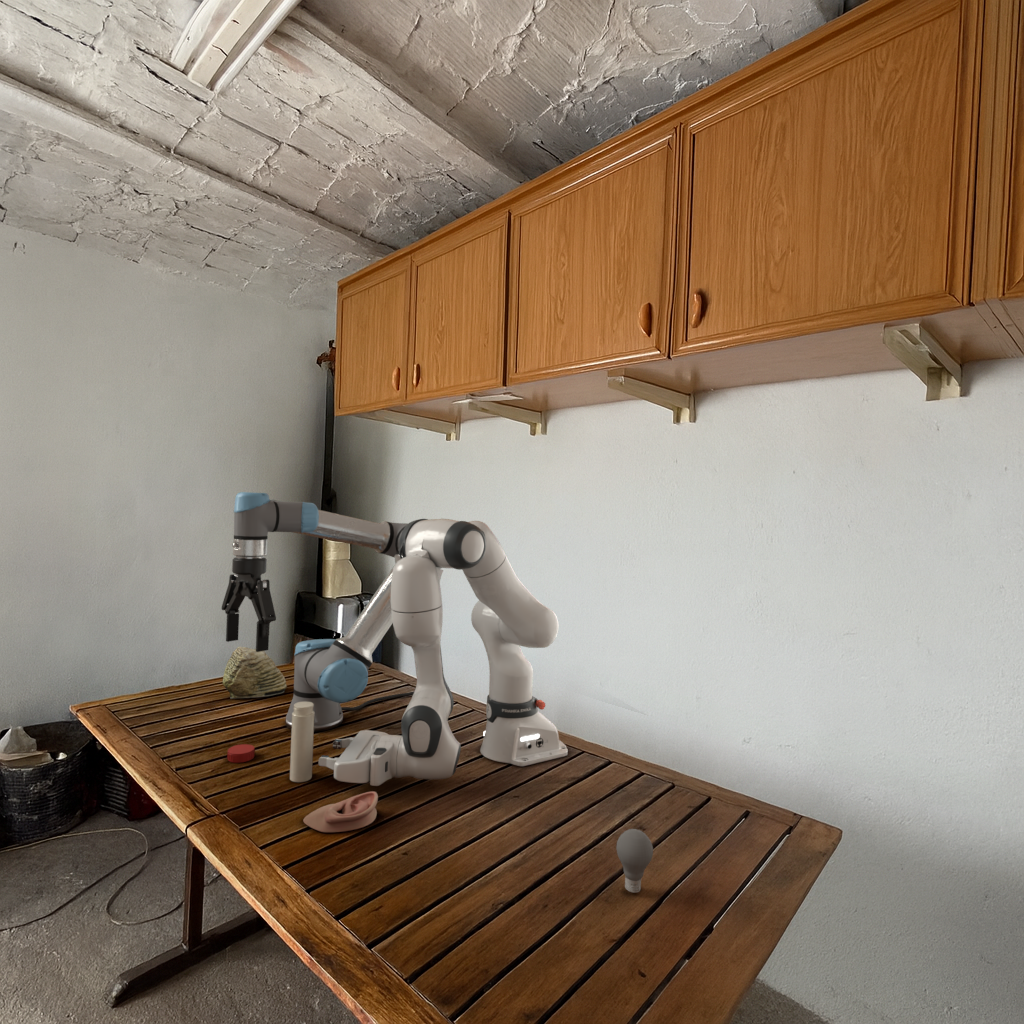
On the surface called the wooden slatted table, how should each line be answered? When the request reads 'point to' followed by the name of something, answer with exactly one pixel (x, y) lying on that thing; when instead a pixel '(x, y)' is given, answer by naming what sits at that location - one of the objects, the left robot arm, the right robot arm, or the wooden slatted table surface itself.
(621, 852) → the light bulb
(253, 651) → the fossil
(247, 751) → the lid
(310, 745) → the white cylindrical bottle
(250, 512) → the left robot arm
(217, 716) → the wooden slatted table surface
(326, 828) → the anatomical model
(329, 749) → the wooden slatted table surface
